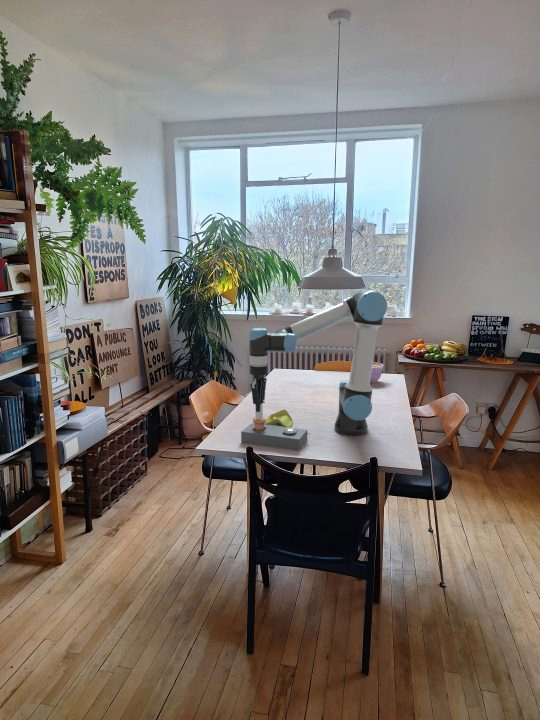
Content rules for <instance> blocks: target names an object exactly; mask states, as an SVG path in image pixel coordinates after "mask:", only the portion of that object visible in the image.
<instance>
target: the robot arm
mask: <svg viewBox="0 0 540 720" xmlns="http://www.w3.org/2000/svg"><path fill="white" fill-rule="evenodd" d="M387 311H388V302H387V300H386V298H385V295H383V294H382V293H381V292H379V291H377V290H373V289H363V290H360V291H358V292H356V293H355V294H353V295H351V296H349V297H347V298H344V299H343V301H342V302H341V303H339V304H336V305H334V306H332V307H329V308H327V309H325V310H323V311H320V312H318V313H316V314H313V315H311V316H308V317H306V318H305V319H302V320H299V321H298V322H295V323H292V324H290V325H288V326H286V327H282V328H279V329H277V330H276V331H275V332H274V333H272V332H271V333H269V332H268V329H267V328H264V327H262V328H261V327H254V328H252V329H250V330H249V357H248V358H249V359H248V360H249V364H250V365H249V374H250V375H252V376H253V377H252V383H250V386H249V387H250V389H251V396H252V404H253V405H254V406H255V409H254V410H255V413H254V414H255V418H257V419H262V418H264V417H263V415H264V414H263V413H264V412H263V407H264V406H263V404H265V403H266V401H265V400H266V399H265V398H266V388H267V387H266V386H267V378H268V377H265V376H266V375H268V367H269V366H268V358H269V357H268V352H287V353H288V352H294V351H296V350H297V349H296V347H297V343H296V342H298V341H300V340H301V339H305V338H306V337H309V336H311V335H314V334H316V333H318V332H321V331H323V330H326V329H328V328H330V327H333V326H335V325H338V324H340V323H342V322H345V321H348V320H352V321H353V323H354V324H355V326H356V327H355V328H356V329H355V330H356V331H355V337H354V343H353V350H352V359H351V366H350V374H349V380H341V381H340V382H339V385H338V389H339V390H338V391H339V392H338V414H337V416H336V420H335V422H334V427H333V428H334V431H335V432H336V433H338V434H342V435H346V436H361V435H364V434H366V433H368V430H369V429H368V427H369V426H368V425H369V424H368V423H367V419H366V418H368V417H369V416H370V415H371V413H372V410H373V402H372V397H373V388H372V387H371V385H370V384H371V383H370V378H371V371H372V364H373V362H374V355H375V349H376V343H377V336H378V330H379V328H381V327H382V326H383V322H384V317H385V315H386V313H387Z"/></svg>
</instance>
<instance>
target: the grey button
mask: <svg viewBox="0 0 540 720" xmlns="http://www.w3.org/2000/svg"><path fill="white" fill-rule="evenodd" d="M295 428H296V427H289V428H284V429H283V433H284V434H286V435H295V434H296V429H295Z"/></svg>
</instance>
